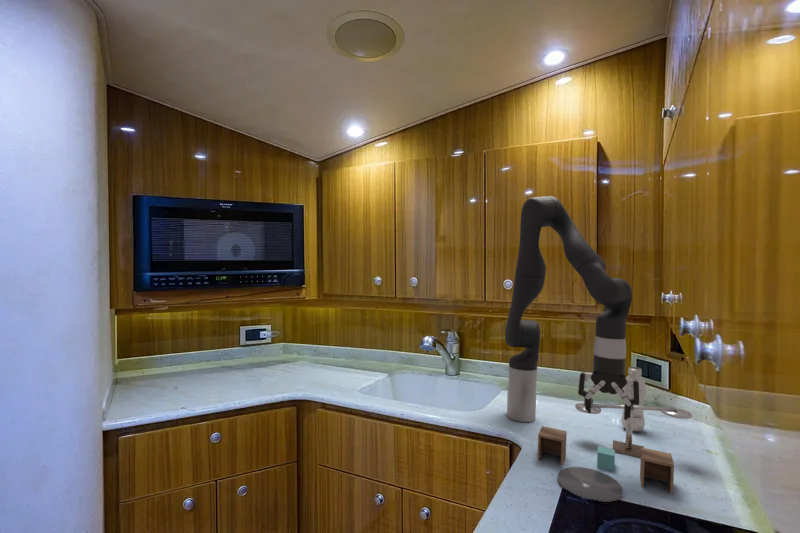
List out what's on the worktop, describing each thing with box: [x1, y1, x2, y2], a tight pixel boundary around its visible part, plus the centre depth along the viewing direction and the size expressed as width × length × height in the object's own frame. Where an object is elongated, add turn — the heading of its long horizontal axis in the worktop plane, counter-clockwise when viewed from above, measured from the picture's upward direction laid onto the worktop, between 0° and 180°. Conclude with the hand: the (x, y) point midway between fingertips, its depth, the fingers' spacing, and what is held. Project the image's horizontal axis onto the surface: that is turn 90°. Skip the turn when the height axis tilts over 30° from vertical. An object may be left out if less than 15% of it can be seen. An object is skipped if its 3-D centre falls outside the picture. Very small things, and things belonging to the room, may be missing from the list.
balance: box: [574, 397, 692, 459], centre depth 118 cm, size 29×7×14 cm, turn 62°
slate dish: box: [557, 466, 623, 503], centre depth 99 cm, size 14×14×1 cm
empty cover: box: [639, 447, 675, 495], centre depth 101 cm, size 6×6×7 cm
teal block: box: [596, 446, 616, 472], centre depth 110 cm, size 4×4×4 cm
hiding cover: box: [536, 425, 567, 467], centre depth 113 cm, size 6×6×7 cm
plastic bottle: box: [620, 366, 647, 433], centre depth 133 cm, size 6×7×20 cm
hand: (607, 415), depth 109 cm, fingers open, 8 cm apart
